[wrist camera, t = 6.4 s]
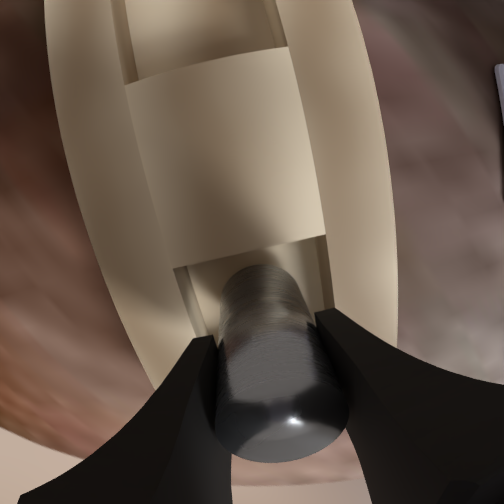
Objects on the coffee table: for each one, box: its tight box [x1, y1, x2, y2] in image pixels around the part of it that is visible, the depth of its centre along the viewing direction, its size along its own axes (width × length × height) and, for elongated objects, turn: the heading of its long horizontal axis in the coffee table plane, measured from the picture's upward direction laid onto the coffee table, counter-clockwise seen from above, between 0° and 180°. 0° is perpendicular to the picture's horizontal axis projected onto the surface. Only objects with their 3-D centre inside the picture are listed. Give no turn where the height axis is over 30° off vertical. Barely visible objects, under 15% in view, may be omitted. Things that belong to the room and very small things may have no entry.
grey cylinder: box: [215, 264, 349, 463], centre depth 9 cm, size 3×3×6 cm
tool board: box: [44, 0, 398, 391], centre depth 11 cm, size 10×22×3 cm, turn 12°
